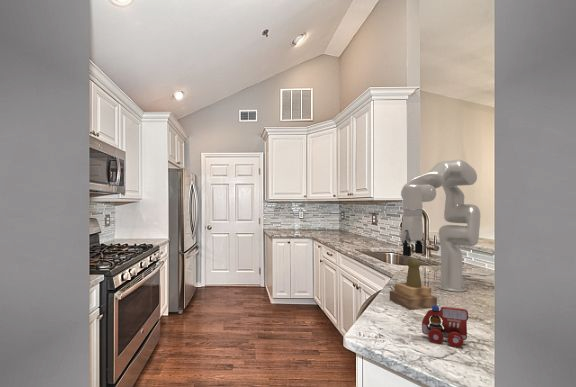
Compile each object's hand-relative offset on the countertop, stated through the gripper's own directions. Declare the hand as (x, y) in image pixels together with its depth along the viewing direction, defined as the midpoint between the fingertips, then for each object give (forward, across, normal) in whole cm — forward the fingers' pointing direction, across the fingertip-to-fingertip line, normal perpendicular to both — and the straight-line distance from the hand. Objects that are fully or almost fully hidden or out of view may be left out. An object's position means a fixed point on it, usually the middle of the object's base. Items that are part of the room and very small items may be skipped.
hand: (413, 254), depth 130 cm
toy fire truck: (+20, +28, +24) cm, 42 cm away
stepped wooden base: (+20, +1, 0) cm, 20 cm away
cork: (+13, +1, 0) cm, 13 cm away
